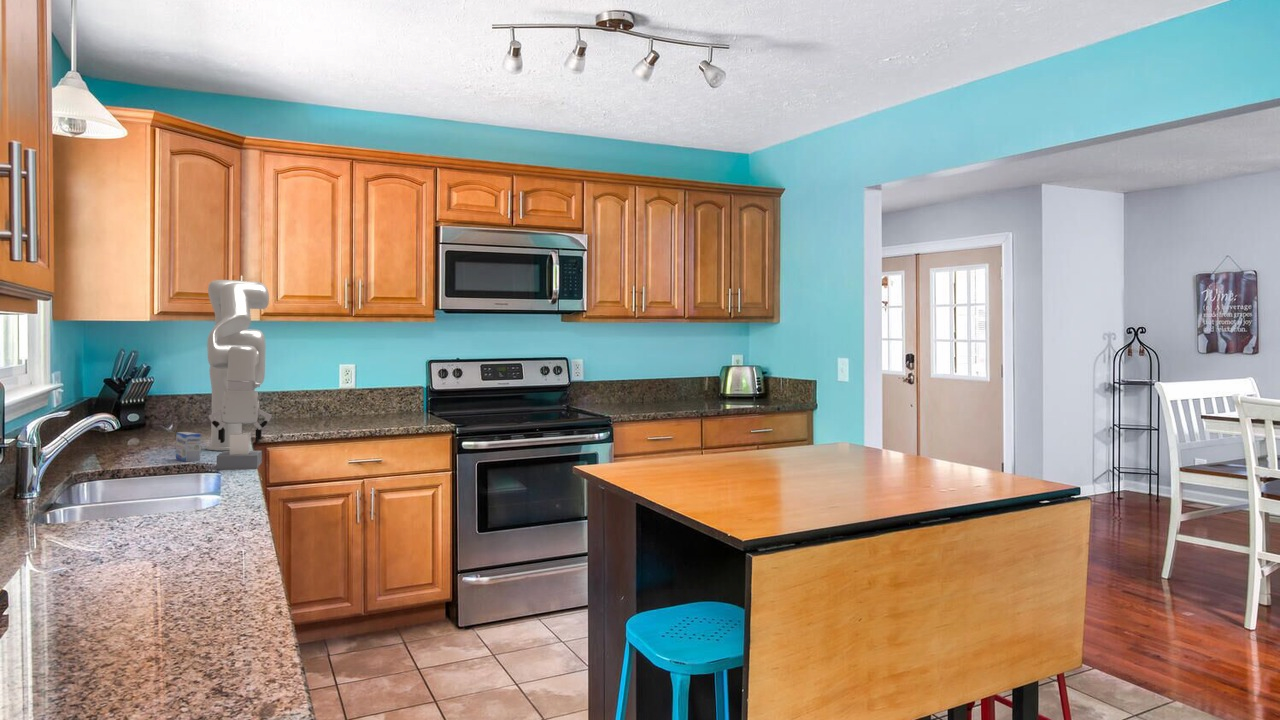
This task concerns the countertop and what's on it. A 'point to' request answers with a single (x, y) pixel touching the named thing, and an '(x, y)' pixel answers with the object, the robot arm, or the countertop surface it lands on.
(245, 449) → the cube
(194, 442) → the medicine box
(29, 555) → the countertop surface
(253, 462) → the plinth
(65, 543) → the countertop surface
